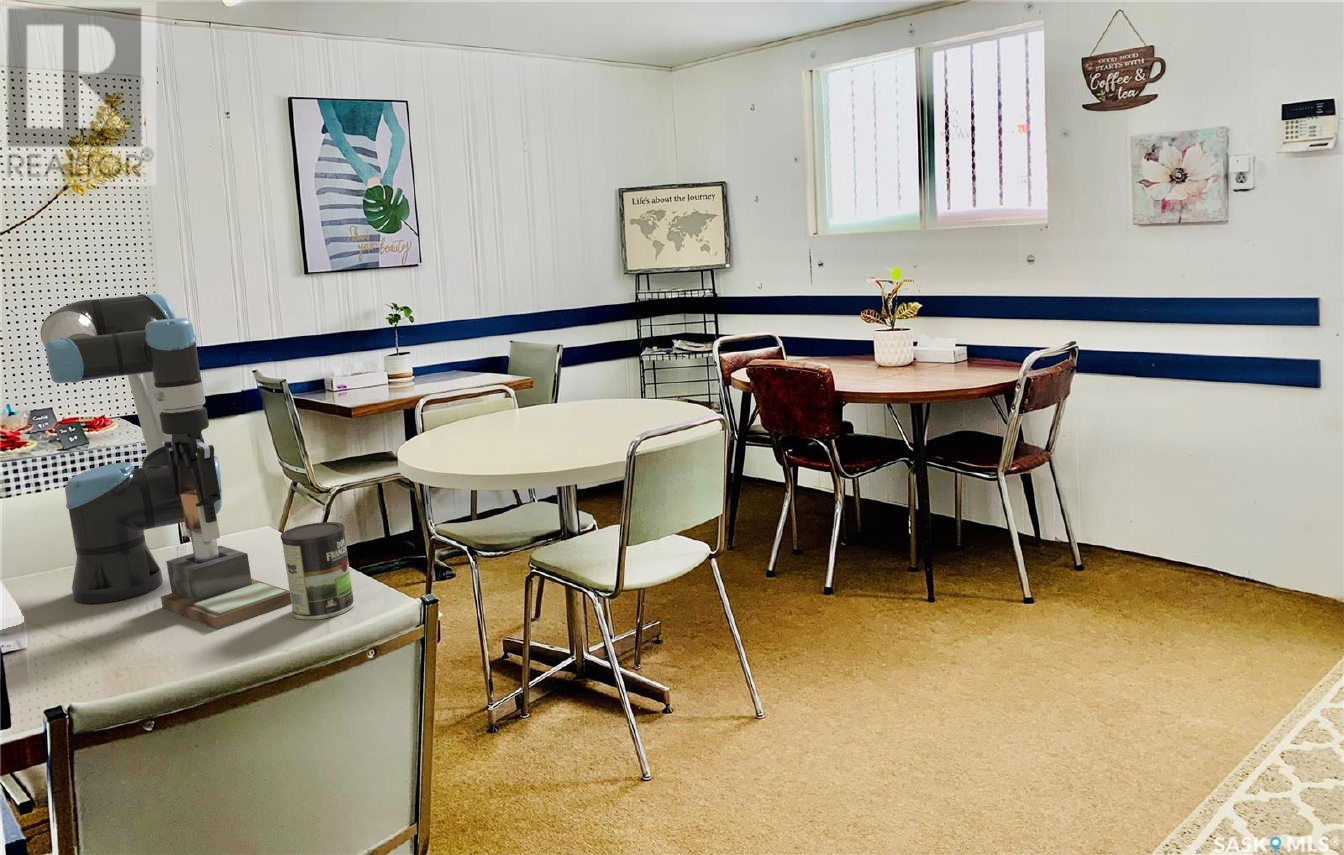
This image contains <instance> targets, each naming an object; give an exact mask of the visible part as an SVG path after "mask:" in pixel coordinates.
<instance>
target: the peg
mask: <svg viewBox="0 0 1344 855" xmlns="http://www.w3.org/2000/svg"><path fill="white" fill-rule="evenodd" d="M180 497H181V503H182V509H183V515H184V521H185V522H184V526H185V530H186V529H190V534H191V537H190V540H191V545H192V546H191V547H192V552H193V553H194V558H195V563H198V564H201V563H205V562H208V561H211V560H215V559H218V558H219V552H218V546H219V545H218V542H217V540H218V539H214V540H210V541H207V542H204V541H203V537H202V531H201V525H200V519H199V513H198V507H197V506H196V504H197V503H200V502H199V499H198V495H197V492H196V489H194V490H189V491H186V492H183V493H181V494H180Z"/></svg>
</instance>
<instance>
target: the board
mask: <svg viewBox="0 0 1344 855" xmlns="http://www.w3.org/2000/svg"><path fill="white" fill-rule="evenodd" d="M217 546H218V552H219V558H218V559H215V560H211V561H208V562H205V563H201V564H198V563H195V558H194V552H193V553H189V554H186V555H183V556H180V557H175V558H172V559H169V560H166V561H165V562H166V567H167V574H168V579H169V584H170V585H169V586H170V592H171V593H168V594H165V595H162V596H160V601H161V607H162V608H164V609H165V610H169V611H171V612H174V613H176V614H179V615H182V616H183V617H186V618H189V619H191V620H194V621H195V622H199V623H202V624H203V625H206V626H209V627H211V628H213V629H216V630H218V629H221V628H225V627H228V626H231V625H232V624H236V623H238V622H242V621H243V620H247V619H251V618H253V617H257V616H258V615H262V614H264V613H268V612H270V611H273V610H276V609H279V608H281V607H284V606H287V605H292V603H291V597H290V590H289V589H284V588H282V587H279V586H276V585H274V584H273V585H272V584H270V583H266V582H263V581H261V580H257V579H255V578H254V579H253V578H252V575H251V567H250V561H249V556H248V555H249V554H248V553H247V552H244V551H241V550H237V549H233V548H230V547H226V546H223V545H217Z"/></svg>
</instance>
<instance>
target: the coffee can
mask: <svg viewBox="0 0 1344 855" xmlns="http://www.w3.org/2000/svg"><path fill="white" fill-rule="evenodd" d="M345 530H346V529H345V525H344V524H343V523H340V522H334V521H333V522H332V521H325V522H314V523H308V524H302V525H298V526H295V527H291V528H290V529H287V530H285V531H284V532H283V531H282V533H281V534H280V540H281V543H282V549H283V557H284V562H285V568H286V575H287V582H288V588H289V589H288V591H290V597H291V608H292V616H293V618H295V619H298V620H303V621H311V620H313V621H314V620H315V621H316V620H323V619H328V618H329V619H330V618H333V617H337V616H340V615H342V614H344V613H347V612H349V611H350V610H352V609H353V607H355V599H354V594H353V587H352V585H353V584H352V579H351V572H350V571H351V570H350V564H349V557H348V550H347V549H348V547H347V542H346V533H345Z"/></svg>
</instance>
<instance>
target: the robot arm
mask: <svg viewBox="0 0 1344 855" xmlns="http://www.w3.org/2000/svg"><path fill="white" fill-rule="evenodd" d="M40 339H41V342H42V344H43V346H44V347H45V354H46V361H47V367H48V371H49V375H50V379H51V380H52V381H53V382H54V383H56V384H66V383H67V384H68V383H71V384H75V383H76V384H77V383H79V382H84V381H92V380H97V379H98V380H99V379H107V378H113V377H121V376H122V377H123V376H127V379H128V382H129V386H130V389H131V394H132V397H133V401H134V406H135V409H136V413H137V417H138V420H139V424H140V427H141V431H142V435H143V440H144V443H145V447H146V451H147V454H146V455H145V457H144V459H143V460H142V462H141V463H142V466H141V467H139V468H135V467H134V465H133V464H132V463H130V462H127V461H126V462H125V461H121V462H117V463H109V464H105V465H102V466H98V467H94V468H92V469H89V470H86V471H83V472H81V473H79V474H76V475H75V476H73V477H71V478H70V479H69V480H68V481H67V482H66V484H65V487H64V492H65V493H64V494H65V499H66V504H65V507H66V510H68V514H69V519H70V520H69V521H70V525H71V531H72V537H73V542H74V548H75V554H76V562H75V567H74V572H73V579H72V583H71V584H72V585H71V591H72V596H73V600H74V601H75V602H77V603H80V604H82V603H83V604H104V603H111V602H116V601H121V600H126V599H130V598H131V599H132V598H134V597H137V596H141V595H143V594H146V593H149V592H151V591H153V590H155V589H157V588H158V587H159V586H161V585H162V583H163V580H164V579H163V575H162V570H161V568H160V566H159V564H158V562H157V561H156V559H155V557H154V555H153V553H152V552H151V551H150V548H149V547H148V545H147V543H146V537H145V531H146V530H151V529H156V528H163V527H165V526H173V525H177V524H180V523H185V521H184V515H183V509H182V503H181V497H180V494H181V493H183V492H186V491H189V490H194V489H196V492H197V495H198V499H199V502H200V503H197V504H196V506H197V507H198V513H199V519H200V525H201V531H202V537H203V541H204V542H207V541H210V540H214V539H216V540H218V539H220V538H221V535H220V529H219V523H218V516H217V514H218V513H219V512H220V511H221V509H222V503H223V502H222V501H223V500H222V499H223V498H222V497H223V494H222V492H223V490H222V489H223V488H222V476H221V468H220V462H219V459H218V457H217V456H216V455H215V448H214V447H215V446H214V445H213V444H209V445H206V444H205V440H204V437H203V434H202V431H203V430H206V429H208V428H209V426H210V423H209V418H208V410H207V408H206V407H205V406H203V405H205V403H206V398H205V397H206V396H205V391H204V384H203V380H202V376H201V369H200V362H199V355H198V349H197V336H196V334H195V332H194V326H193V323H192V321H191V319H189V318H185V317H182V318H181V317H178V318H177V317H176V314H175V313H174V309H173V308H172V306H171V303H170V302H169V301H168V299H167V298H166V297H165V296H163V295H161V294H158V293H152V294H151V293H149V294H146V293H139V294H137V295H131V296H121V297H120V296H118V297H108V298H107V297H105V298H95V299H84V300H78V301H75V302H72V303H68V304H66V305H64V306H61V307H60V308H58V309H56V310H54V311H53V312H52V313H50V314H49V315H48V316H47V317H46V318H45V319H44V321H43V322H42V324H41V328H40ZM185 530H186V535H187V537H188V538H191V534H190V529H186V528H185Z"/></svg>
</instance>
